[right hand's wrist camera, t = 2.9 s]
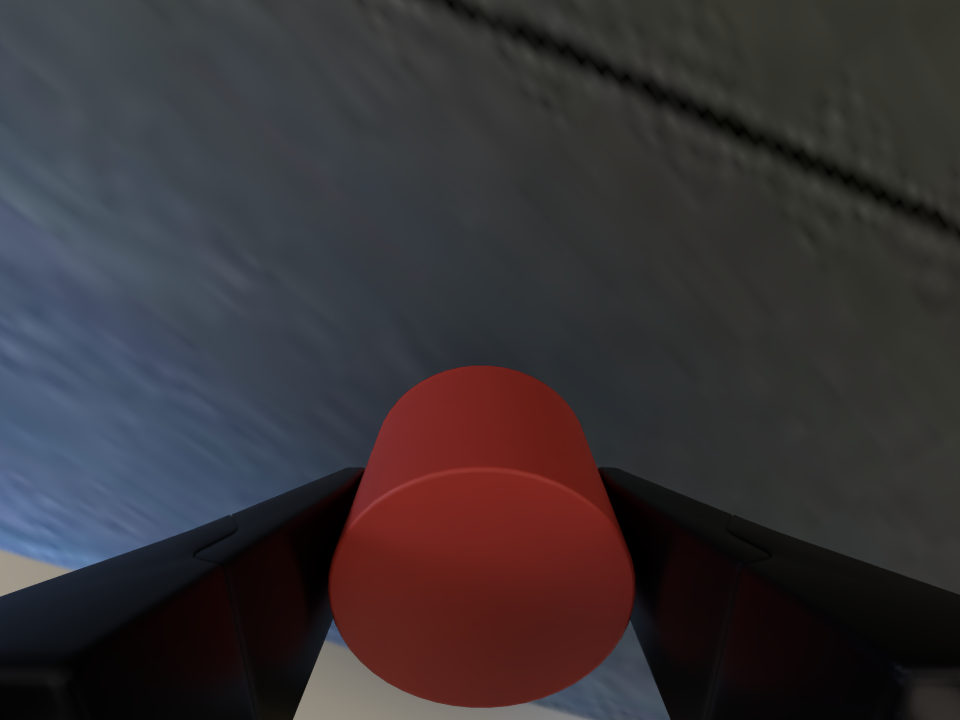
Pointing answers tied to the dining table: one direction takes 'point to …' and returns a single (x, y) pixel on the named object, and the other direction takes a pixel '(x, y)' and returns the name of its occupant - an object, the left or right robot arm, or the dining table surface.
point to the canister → (481, 546)
